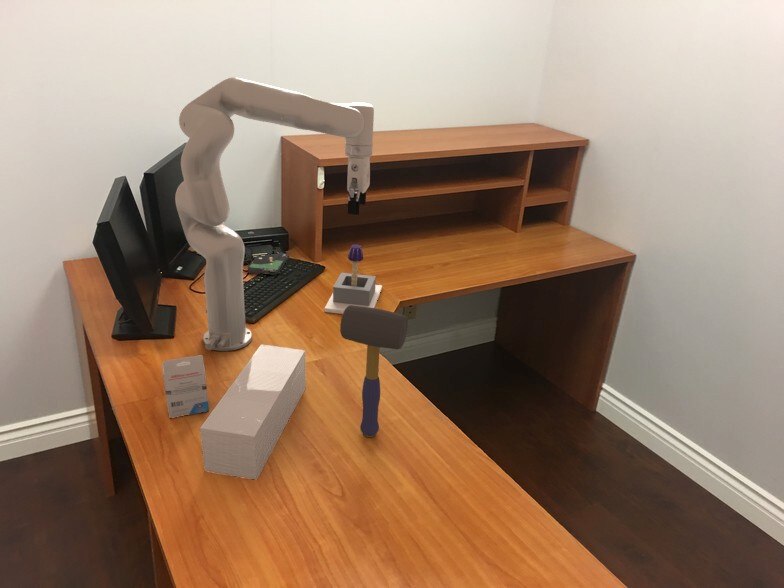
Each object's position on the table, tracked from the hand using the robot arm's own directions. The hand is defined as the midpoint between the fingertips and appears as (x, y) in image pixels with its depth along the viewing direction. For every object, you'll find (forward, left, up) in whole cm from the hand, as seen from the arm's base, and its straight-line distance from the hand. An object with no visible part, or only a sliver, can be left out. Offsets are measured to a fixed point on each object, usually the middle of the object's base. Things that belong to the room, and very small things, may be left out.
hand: (356, 209), depth 179 cm
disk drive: (+18, +33, -30) cm, 48 cm away
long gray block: (-65, +8, -30) cm, 72 cm away
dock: (0, 0, -29) cm, 29 cm away
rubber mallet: (-63, -16, -30) cm, 71 cm away
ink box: (-63, +25, -30) cm, 74 cm away
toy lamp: (0, 0, -28) cm, 28 cm away
